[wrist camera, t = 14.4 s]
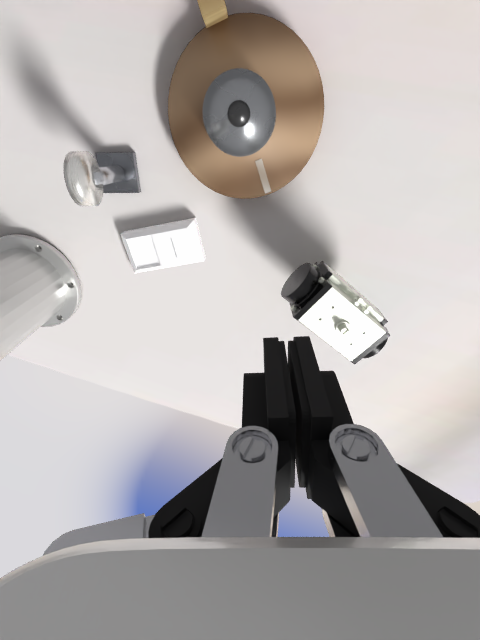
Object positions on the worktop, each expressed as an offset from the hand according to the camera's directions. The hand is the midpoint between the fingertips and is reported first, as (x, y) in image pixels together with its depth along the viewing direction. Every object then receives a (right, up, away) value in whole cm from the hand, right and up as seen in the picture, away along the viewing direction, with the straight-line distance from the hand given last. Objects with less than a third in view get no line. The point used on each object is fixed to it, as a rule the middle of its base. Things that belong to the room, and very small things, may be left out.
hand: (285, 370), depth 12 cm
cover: (-2, +22, +19) cm, 29 cm away
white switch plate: (-11, +11, +28) cm, 32 cm away
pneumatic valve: (+9, +7, +29) cm, 31 cm away
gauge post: (-15, +18, +24) cm, 34 cm away
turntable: (-1, +23, +20) cm, 30 cm away
